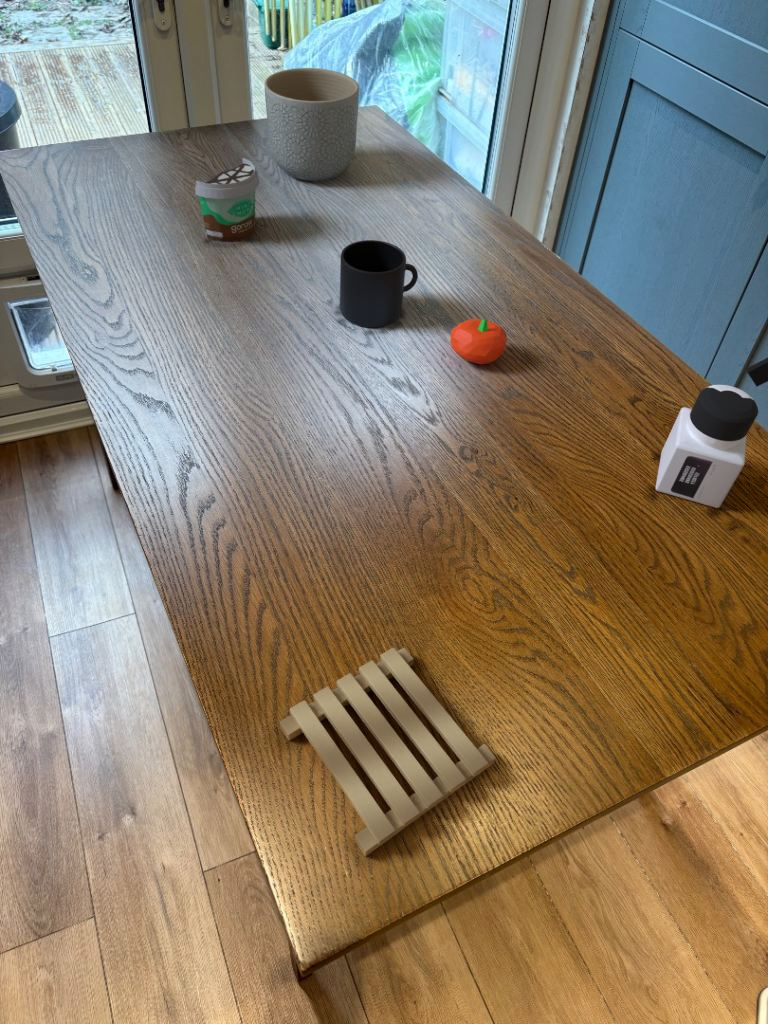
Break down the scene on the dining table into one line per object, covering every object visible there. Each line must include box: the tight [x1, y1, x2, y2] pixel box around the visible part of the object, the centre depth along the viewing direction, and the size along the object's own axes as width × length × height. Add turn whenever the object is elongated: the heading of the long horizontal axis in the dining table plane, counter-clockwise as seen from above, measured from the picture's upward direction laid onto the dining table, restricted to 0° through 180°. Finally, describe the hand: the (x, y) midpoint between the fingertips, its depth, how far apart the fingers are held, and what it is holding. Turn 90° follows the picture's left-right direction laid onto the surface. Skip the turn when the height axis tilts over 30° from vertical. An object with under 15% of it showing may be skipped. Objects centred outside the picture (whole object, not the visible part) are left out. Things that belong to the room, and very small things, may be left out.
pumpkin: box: [449, 318, 508, 365], centre depth 105 cm, size 7×8×6 cm
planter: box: [264, 67, 360, 182], centre depth 140 cm, size 17×17×15 cm
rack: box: [279, 647, 497, 857], centre depth 67 cm, size 14×14×2 cm
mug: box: [339, 239, 419, 328], centre depth 111 cm, size 9×12×9 cm
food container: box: [194, 157, 260, 243], centre depth 124 cm, size 12×6×10 cm, turn 147°
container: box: [655, 384, 759, 509], centre depth 88 cm, size 8×8×13 cm
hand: (765, 414), depth 85 cm, fingers open, 13 cm apart
